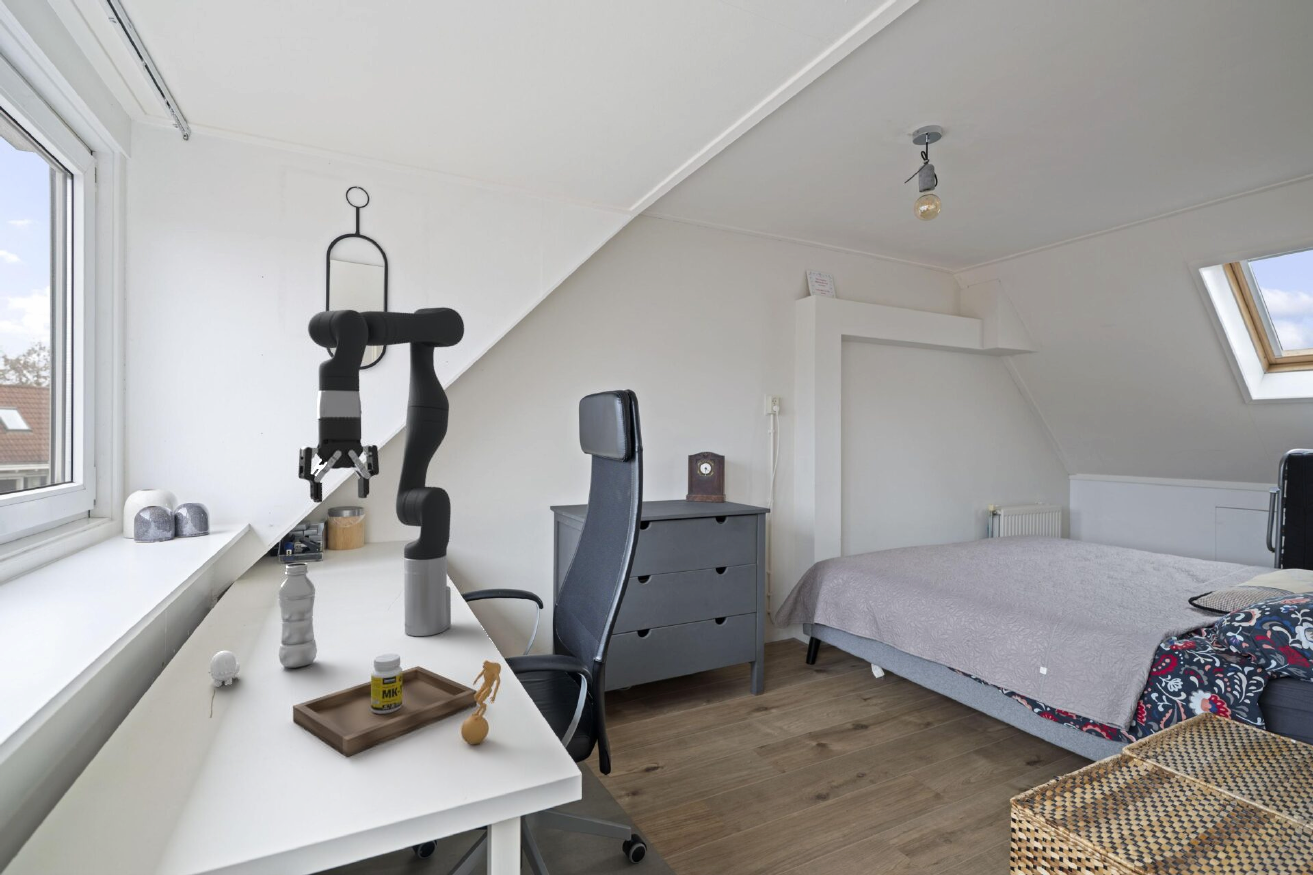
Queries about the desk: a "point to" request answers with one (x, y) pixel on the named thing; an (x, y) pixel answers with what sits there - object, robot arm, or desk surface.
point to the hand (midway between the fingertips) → (340, 500)
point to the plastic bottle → (297, 617)
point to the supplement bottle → (386, 684)
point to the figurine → (481, 705)
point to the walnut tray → (358, 728)
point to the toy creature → (224, 668)
